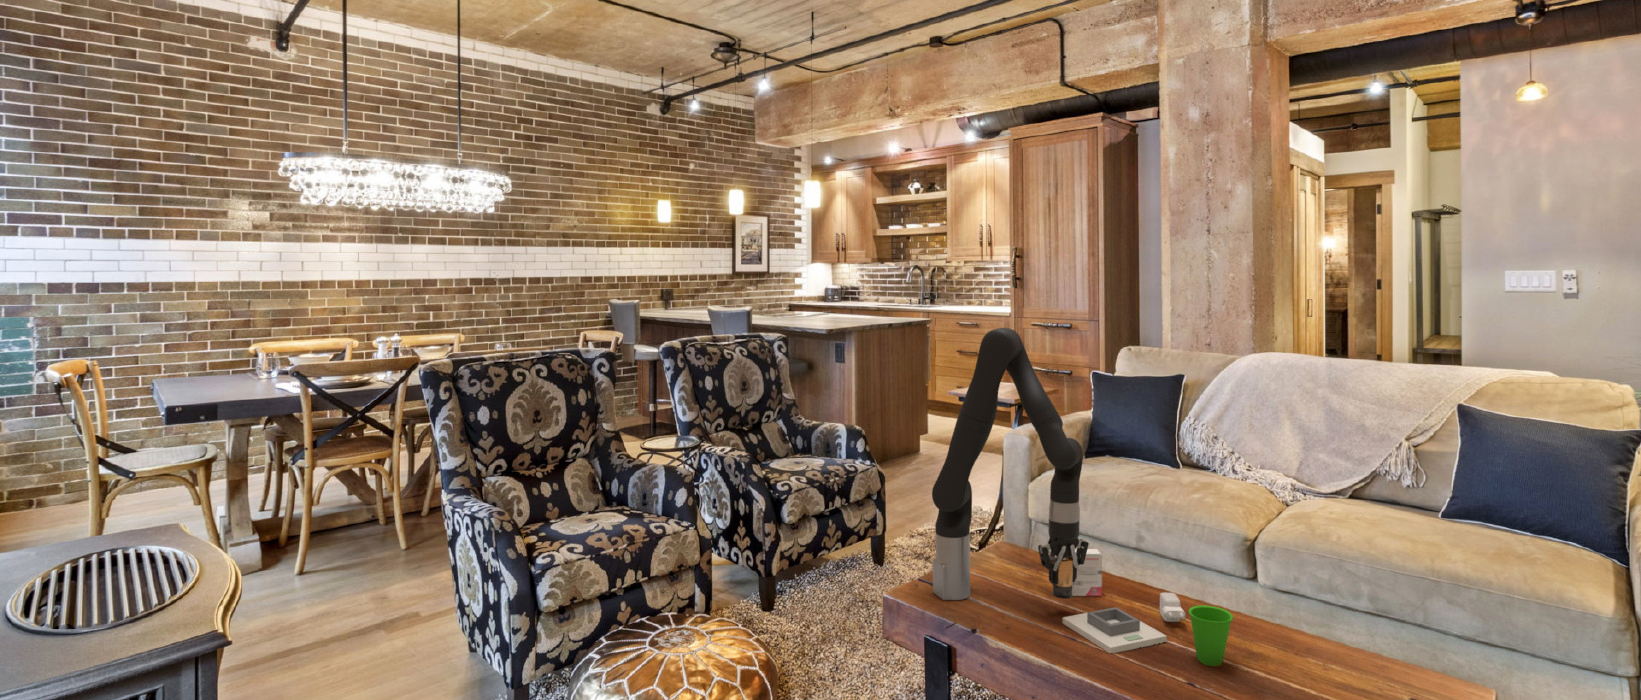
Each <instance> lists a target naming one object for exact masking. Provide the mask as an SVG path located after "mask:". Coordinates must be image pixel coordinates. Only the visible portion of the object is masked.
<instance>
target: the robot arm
mask: <svg viewBox="0 0 1641 700" xmlns="http://www.w3.org/2000/svg"><path fill="white" fill-rule="evenodd" d="M978 349H979V350H978V354H977V359H976V363H975V368H974V372H973V375H972V379H971V381H970V384H969V386H968V388H967V391H966V393H965V396H964V399H963V401H962V405H961V408H960V410H959V413H958V416H957V419H956V422H955V426H954V429H953V432H952V437H951V439H950V443H949V447H948V451H947V455H946V457H945V460H944V462H943V465H942V468H941V470H940V471H939V474H938V476H937V479H936V480H935V483H934V485H933V487H932V489H931V497H932V501H933V504H934V506H935V507H936V508H937V509H938V513H937V519H936V521H935V526H934V528H935V529H934V533H935V558H933V559H932V590H933V591H932V593H934V594H935V596H937V597H938V598H940V599H941V600H943V601H961V600H965V599H966V600H967V598H969V597H970V596H971V538H970V536H971V535H970V533H971V529H970V528H971V523H972V518H973V517H972V515H973V514H972V513H973V490H972V485H971V482H970V481H969V480H970V479H969V478H970V476H971V472H972V470H973V467H974V465H975V463H976V461H977V460H978V458H979V456H980V455H981V453H982V451H983V449H984V447H985V445H986V443H987V441H988V439H989V437H990V434H991V432H992V430H993V426H994V423H995V419H996V417H997V411H998V405H999V404H998V403H999V389H1000V386H1001V382H1002V379H1003V377H1004V375H1005V372H1007V374H1008V375H1009V376H1010V378H1011V381H1013V383H1014V384H1013V385H1014V386H1015V388H1016V391H1017V395H1018V398H1019V400H1020V403H1021V405H1022V408H1023V411H1024V412H1025V414H1026V416H1027V418H1028V420H1029V422H1030V423H1031V425H1032V427H1033V428H1034V430H1035V432H1036V433H1037V435H1038V438H1039V442H1040V443H1041V446H1042V449H1043V452H1044V454H1045V457H1046V458H1047V460H1048V461H1049V463H1050V464H1051V465H1052V466H1053V467H1054V474H1053V476H1052V478H1051V481H1050V490H1049V491H1050V493H1049V496H1050V497H1049V498H1050V499H1049V505H1048V506H1049V507H1048V531H1047V532H1048V536H1049V539H1048V541H1047V543H1046V544H1043V545H1042V544H1039V545H1038V546H1037V549H1038V554H1039V558H1040V562H1041V566H1042V567H1043V568H1044V569H1047V570H1048V581H1049V582H1050V583H1051V584H1052V585H1053V584H1054V585H1057V584H1058V571H1057V568H1058V565H1059V563H1060V562H1061V560H1062V558H1063V557H1069V558H1070V559H1072V560H1073V582H1075V579H1076V578H1077V567H1078V566H1079V565H1080V564H1081V565H1083V564H1084V561H1085V557H1086V553H1087V549H1089V544H1090V543H1089V542H1088V541H1086V540H1084V539H1082V538H1080V539H1079V536H1080V520H1081V519H1080V516H1081V510H1080V508H1081V507H1080V479H1081V475H1082V474H1081V473H1082V467H1083V461H1084V459H1083V458H1084V454H1083V452H1084V451H1083V448H1082V445H1081V444H1080V442H1079V441H1078V440H1076V439H1075V438H1073V437H1067V435H1066V434H1065V431H1064V429H1063V425H1064V423H1063V419H1062V418H1061V416H1060V414H1059V412H1058V411H1057V409H1056V406H1055V405H1054V404H1053V401H1052V400H1051V399H1050V397H1049V395H1048V393H1047V392H1046V390H1045V389H1044V387H1043V385H1042V383H1041V381H1040V380H1039V377H1038V376H1037V373H1036V372H1035V370H1034V367H1033V366H1032V363H1031V361H1030V358H1029V356H1028V353H1027V351H1026V348H1025V345H1024V342H1023V341H1022V338H1021V335H1020V334H1019V333H1018V332H1017V331H1016V330H1013V329H1012V328H1009V327H1000V328H994V329H991V330H990V331H987V333H986V334H985V335H984V336H983V337H982V339H981V342H980V346H979V348H978ZM1075 549H1077V551H1076V552H1075ZM1055 556H1057V558H1056V557H1055Z"/></svg>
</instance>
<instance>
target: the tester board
mask: <svg viewBox="0 0 1641 700" xmlns="http://www.w3.org/2000/svg"><path fill="white" fill-rule="evenodd" d="M1062 624H1063V625H1064V626H1066V627H1068V628H1069V629H1071V630H1072V631H1074V632H1075V633H1077V634H1078V635H1080V636H1081V637H1083V638H1085V639H1087V641H1089V642H1091V643H1093V644H1094V645H1096V646H1097V647H1099V648H1100V647H1101V649H1102V648H1103V649H1104V650H1103V649H1102V650H1103V651H1105V650H1106V651H1105V652H1107V653H1108V654H1110V653H1113V654H1116V653H1122V652H1126V651H1131V650H1135V649H1136V650H1137V649H1140V647H1141V648H1146V647H1150V646H1155V645H1159V643H1160V644H1164V643H1163V642H1165V643H1167V640H1168V638H1167V637H1168V636H1167V635H1165V634H1164V633H1163V632H1161V631H1159V630H1157V629H1155V628H1154V627H1151V626H1150V625H1148V624H1146V623H1145V622H1143V621H1141V620H1140V619H1139V618H1136V617H1135V616H1133V615H1132V614H1130V613H1127V612H1125V611H1124V610H1122V609H1120V608H1118V607H1116V606H1115V607H1110V608H1105V609H1100V610H1098V609H1097V610H1093V611H1090V612H1088V611H1087V612H1084V613H1079V614H1074V615H1068V616H1064V617H1062ZM1154 644H1155V645H1154Z"/></svg>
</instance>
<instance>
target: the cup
mask: <svg viewBox="0 0 1641 700" xmlns="http://www.w3.org/2000/svg"><path fill="white" fill-rule="evenodd" d="M1188 614H1189V615H1190V621H1191V628H1192V629H1191V630H1192V635H1193V642H1194V648H1195V655H1196V659H1197V661H1198V660H1199V661H1200V662H1201V664H1202V663H1203V664H1202V665H1205V666H1209V665H1210V666H1211V667H1217V665H1219V666H1221V665H1222V664H1223V662H1224V657H1225V652H1226V648H1227V643H1228V638H1229V631H1230V629H1231V628H1230V627H1231V622H1232V621H1233V620H1234V615H1233V614H1232V613H1231V612H1230V611H1229V610H1227V609H1224V608H1222V607H1218V606H1214V605H1204V604H1203V605H1194V606H1191V607H1189V609H1188ZM1199 661H1198V662H1199ZM1200 662H1199V663H1200ZM1210 666H1209V667H1210Z"/></svg>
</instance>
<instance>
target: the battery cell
mask: <svg viewBox="0 0 1641 700" xmlns="http://www.w3.org/2000/svg"><path fill="white" fill-rule="evenodd" d="M1055 557H1056V558H1057V556H1055ZM1057 571H1058V584H1057V585H1054V584H1052V596H1054V597H1056V598H1058V599H1066V600H1067V599H1071V598H1072V597H1073V596H1072V588H1073V560H1072V559H1070V558H1069V557H1063V558H1062V560H1061V562H1060V563H1059V565H1058V568H1057Z"/></svg>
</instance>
